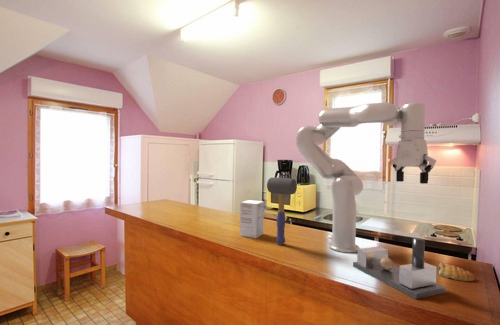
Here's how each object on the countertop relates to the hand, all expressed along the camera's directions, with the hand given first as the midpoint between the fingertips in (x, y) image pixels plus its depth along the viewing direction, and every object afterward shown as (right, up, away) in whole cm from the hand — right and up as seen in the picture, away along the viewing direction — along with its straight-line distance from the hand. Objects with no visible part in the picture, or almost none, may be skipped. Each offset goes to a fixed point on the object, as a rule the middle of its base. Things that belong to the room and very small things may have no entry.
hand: (411, 182), depth 99 cm
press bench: (-14, -30, -13) cm, 36 cm away
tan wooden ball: (-15, -26, -11) cm, 32 cm away
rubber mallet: (-47, -30, +20) cm, 59 cm away
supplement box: (-60, -29, +34) cm, 75 cm away
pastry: (+7, -31, -11) cm, 34 cm away
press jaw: (-11, -28, -21) cm, 37 cm away
